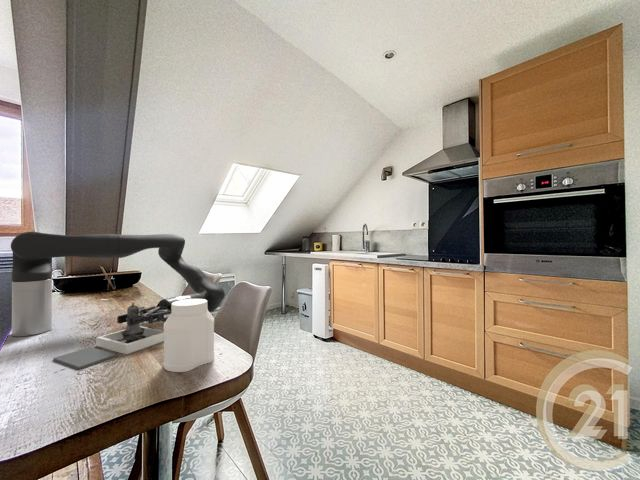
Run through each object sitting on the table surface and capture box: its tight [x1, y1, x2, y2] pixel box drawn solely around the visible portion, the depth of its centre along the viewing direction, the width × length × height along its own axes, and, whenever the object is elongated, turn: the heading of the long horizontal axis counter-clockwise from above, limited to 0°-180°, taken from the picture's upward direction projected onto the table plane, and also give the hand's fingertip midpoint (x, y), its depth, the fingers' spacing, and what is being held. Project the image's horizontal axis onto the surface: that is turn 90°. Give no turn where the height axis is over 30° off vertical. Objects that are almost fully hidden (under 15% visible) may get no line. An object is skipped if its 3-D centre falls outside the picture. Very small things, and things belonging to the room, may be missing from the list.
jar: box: [162, 299, 215, 373], centre depth 70 cm, size 12×10×15 cm
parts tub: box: [95, 325, 164, 355], centre depth 82 cm, size 14×12×2 cm
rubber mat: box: [53, 346, 117, 370], centre depth 71 cm, size 12×8×1 cm, turn 65°
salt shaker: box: [121, 302, 145, 344], centre depth 82 cm, size 6×6×12 cm
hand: (123, 320), depth 80 cm, fingers open, 4 cm apart
